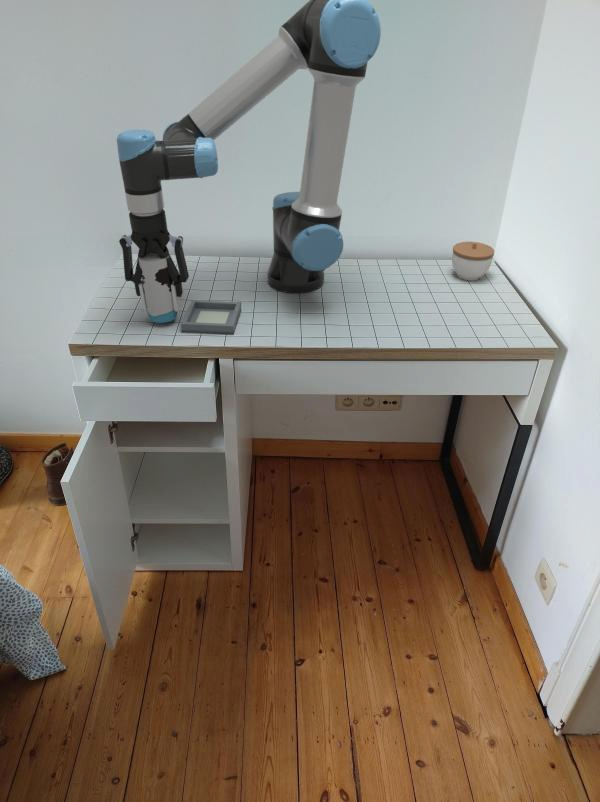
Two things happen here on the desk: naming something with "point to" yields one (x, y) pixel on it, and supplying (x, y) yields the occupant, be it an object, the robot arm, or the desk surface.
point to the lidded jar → (471, 259)
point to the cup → (157, 288)
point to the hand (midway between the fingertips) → (161, 308)
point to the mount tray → (211, 317)
